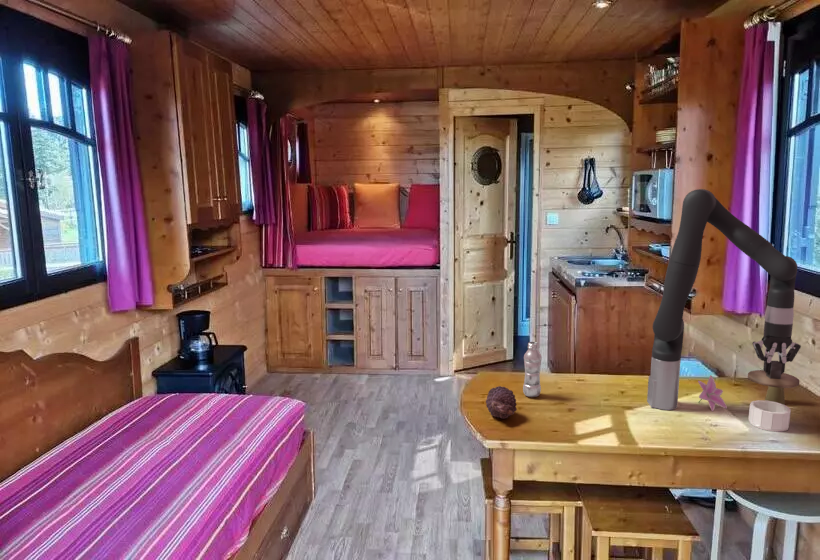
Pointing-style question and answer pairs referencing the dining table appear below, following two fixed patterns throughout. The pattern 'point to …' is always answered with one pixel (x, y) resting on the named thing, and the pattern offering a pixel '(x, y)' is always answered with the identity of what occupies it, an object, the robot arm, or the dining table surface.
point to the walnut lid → (774, 377)
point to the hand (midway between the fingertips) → (773, 373)
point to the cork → (775, 395)
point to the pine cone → (501, 402)
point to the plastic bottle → (532, 370)
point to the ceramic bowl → (769, 415)
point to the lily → (711, 394)
